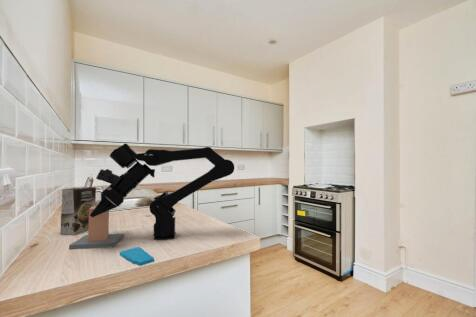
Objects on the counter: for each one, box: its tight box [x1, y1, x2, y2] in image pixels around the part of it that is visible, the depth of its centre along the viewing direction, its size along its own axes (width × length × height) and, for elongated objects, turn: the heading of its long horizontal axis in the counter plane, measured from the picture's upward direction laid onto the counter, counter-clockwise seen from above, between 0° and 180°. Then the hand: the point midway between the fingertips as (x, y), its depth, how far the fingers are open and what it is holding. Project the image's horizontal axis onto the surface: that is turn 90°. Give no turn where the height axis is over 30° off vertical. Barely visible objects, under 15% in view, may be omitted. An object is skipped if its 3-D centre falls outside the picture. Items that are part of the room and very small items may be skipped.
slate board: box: [68, 232, 125, 250], centre depth 73 cm, size 12×10×1 cm
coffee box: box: [59, 186, 97, 236], centre depth 86 cm, size 9×6×16 cm
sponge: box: [119, 246, 155, 267], centre depth 61 cm, size 2×12×6 cm
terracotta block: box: [87, 205, 110, 242], centre depth 73 cm, size 5×5×10 cm
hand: (93, 213), depth 72 cm, fingers open, 9 cm apart
